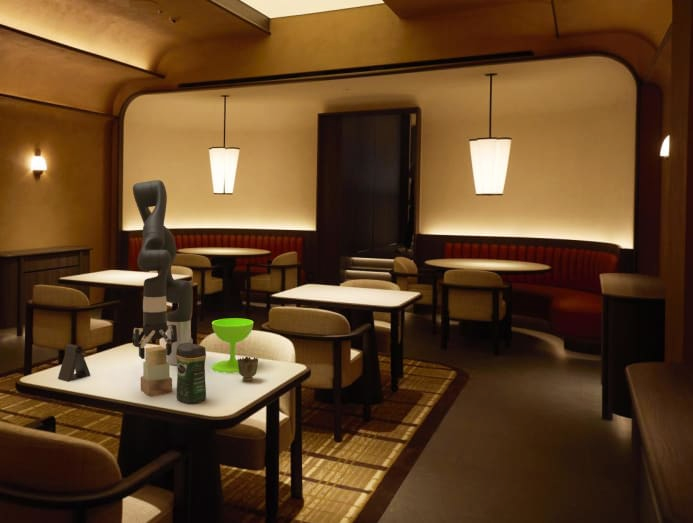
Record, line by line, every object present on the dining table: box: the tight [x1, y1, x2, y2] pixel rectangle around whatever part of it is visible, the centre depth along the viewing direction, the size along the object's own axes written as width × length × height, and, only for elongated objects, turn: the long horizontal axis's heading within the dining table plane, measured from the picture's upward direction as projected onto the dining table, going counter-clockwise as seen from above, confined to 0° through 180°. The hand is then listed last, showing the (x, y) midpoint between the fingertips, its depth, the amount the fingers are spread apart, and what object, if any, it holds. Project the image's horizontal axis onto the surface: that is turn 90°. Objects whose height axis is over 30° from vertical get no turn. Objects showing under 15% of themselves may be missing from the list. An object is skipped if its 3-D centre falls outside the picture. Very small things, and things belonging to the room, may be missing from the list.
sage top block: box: [142, 361, 170, 381], centre depth 200 cm, size 7×7×5 cm
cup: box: [237, 356, 259, 382], centre depth 215 cm, size 8×7×8 cm
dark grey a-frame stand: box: [57, 343, 91, 383], centre depth 214 cm, size 9×6×12 cm, turn 148°
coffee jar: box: [175, 342, 207, 404], centre depth 192 cm, size 10×8×19 cm
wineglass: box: [211, 317, 254, 374], centre depth 231 cm, size 16×16×18 cm
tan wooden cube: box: [144, 345, 167, 366], centre depth 199 cm, size 5×5×5 cm
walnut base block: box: [139, 375, 173, 397], centre depth 200 cm, size 8×8×5 cm
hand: (155, 356), depth 199 cm, fingers open, 8 cm apart
